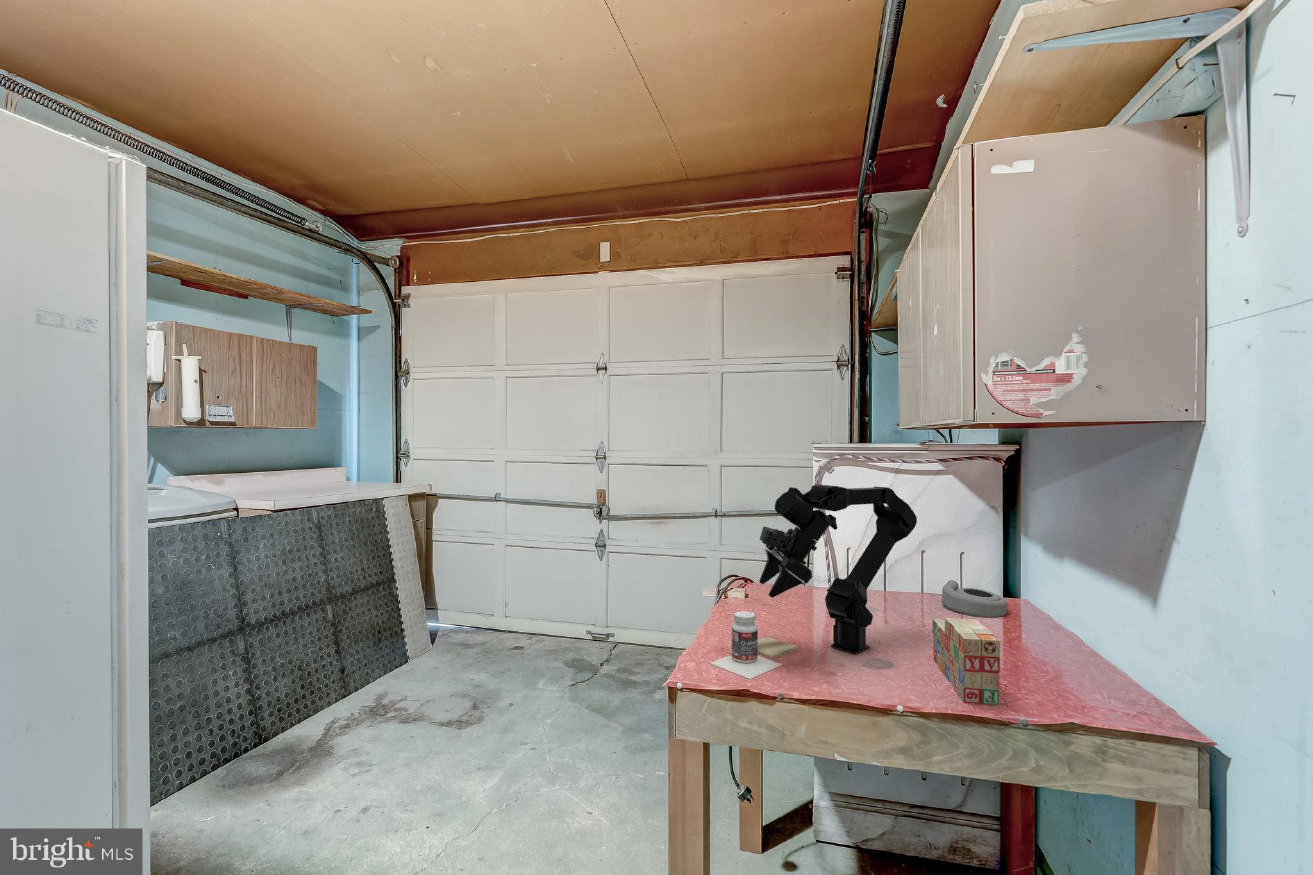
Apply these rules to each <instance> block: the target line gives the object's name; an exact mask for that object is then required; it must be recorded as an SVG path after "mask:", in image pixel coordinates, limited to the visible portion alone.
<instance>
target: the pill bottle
mask: <svg viewBox="0 0 1313 875" xmlns="http://www.w3.org/2000/svg"><path fill="white" fill-rule="evenodd" d="M733 617H734V618H733V620H735V622H733V623H732V625H731V655H732V658H733V659H734V660H735V661H737V662H741V663H752V662H754V661H756V660H757V657H758V656H759V654H758V639H759V637H758V636H759V635H758V633H759V632H758V629H759V628H758V625H757V624H756V623H755V622H756V619H757V618H756V617H757V616H756V614H755V613H754V612H752V611H744V610H742V611H737V612H734V614H733Z"/></svg>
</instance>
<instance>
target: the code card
mask: <svg viewBox="0 0 1313 875" xmlns="http://www.w3.org/2000/svg"><path fill="white" fill-rule="evenodd" d="M709 664H710V665H712V666H715V667H717V668H721V669H723V670H725V671H728V672H731V673H733V674H734V675H738V676H741V677H742V678H746V679H748V680H751V679H753V678H756V677H758V676H760V675H763V674H765V673H767V672H770V671H772V670H774V669H776V668H779V667H781V666H782V665H783V664H782V663H778V662H777V661H773V660H770V659H767V658H764V657H762V656H759V655H758V657H757V660H756V661H754V662H752V663H741V662H737V661H735V660H734V659H733V658H732V654H731V655H728V656H725V657H722V658H720V659H717V660H715V661H712V662H710V663H709Z"/></svg>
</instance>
